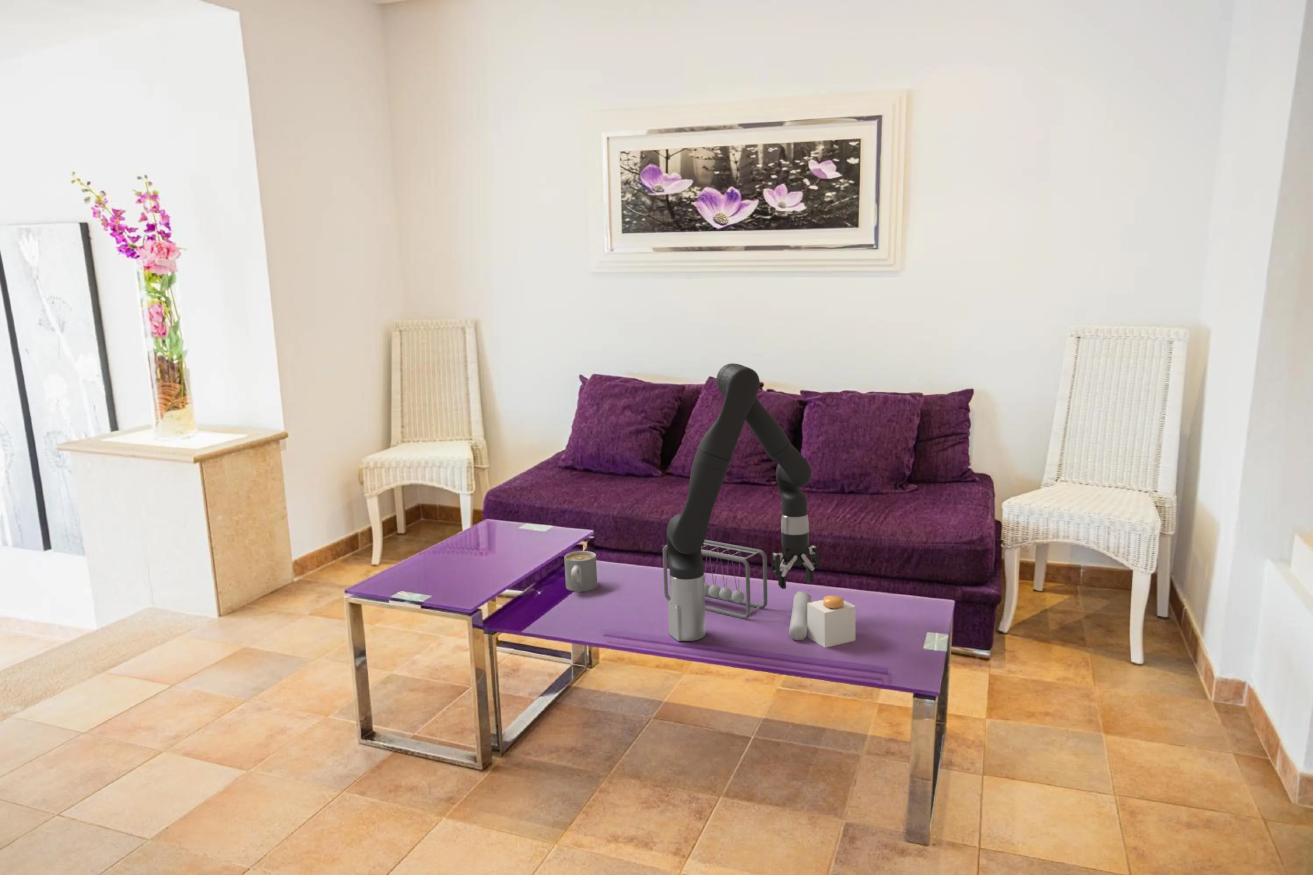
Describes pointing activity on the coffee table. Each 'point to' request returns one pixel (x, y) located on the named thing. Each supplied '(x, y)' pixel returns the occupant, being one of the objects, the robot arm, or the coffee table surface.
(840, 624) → the housing
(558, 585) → the coffee table surface
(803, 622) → the tube
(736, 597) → the newton's cradle
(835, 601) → the orange rounded lump
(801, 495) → the robot arm
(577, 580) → the coffee mug
